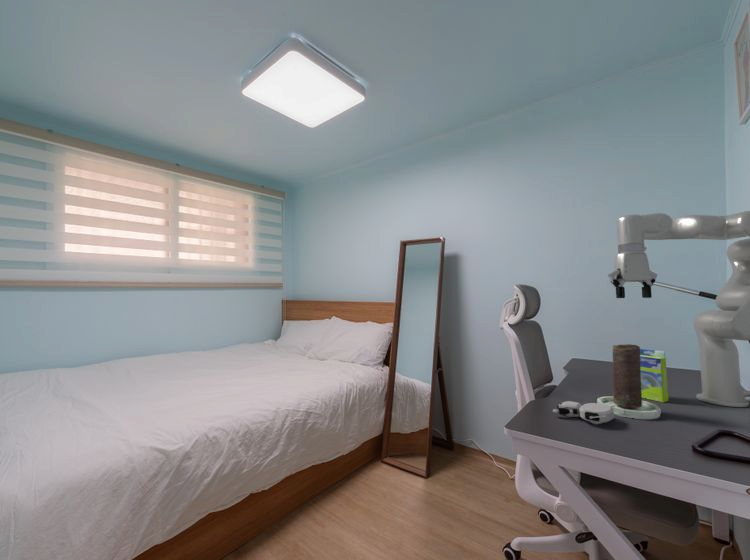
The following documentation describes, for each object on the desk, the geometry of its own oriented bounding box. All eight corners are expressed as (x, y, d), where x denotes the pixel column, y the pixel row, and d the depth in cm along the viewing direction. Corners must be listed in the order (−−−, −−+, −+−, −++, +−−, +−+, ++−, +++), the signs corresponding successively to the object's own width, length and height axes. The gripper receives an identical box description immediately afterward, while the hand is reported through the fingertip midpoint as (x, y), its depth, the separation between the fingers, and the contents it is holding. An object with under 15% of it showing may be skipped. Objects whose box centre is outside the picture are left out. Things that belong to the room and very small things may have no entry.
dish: (631, 402, 116) (630, 395, 116) (674, 418, 100) (674, 411, 100) (586, 403, 115) (586, 396, 115) (623, 420, 99) (623, 412, 99)
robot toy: (551, 420, 102) (609, 430, 91) (549, 405, 102) (607, 413, 92) (564, 411, 110) (619, 419, 100) (562, 397, 111) (617, 403, 100)
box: (629, 395, 124) (626, 348, 125) (634, 393, 126) (632, 347, 127) (663, 403, 114) (660, 352, 115) (669, 401, 116) (666, 351, 117)
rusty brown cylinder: (649, 411, 103) (645, 346, 104) (625, 411, 104) (621, 346, 105) (630, 403, 111) (627, 343, 112) (608, 403, 111) (605, 343, 112)
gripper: (645, 251, 123) (647, 297, 122) (600, 251, 122) (602, 298, 121) (663, 248, 115) (666, 297, 114) (616, 248, 115) (618, 298, 114)
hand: (633, 297), depth 118 cm, fingers open, 9 cm apart
